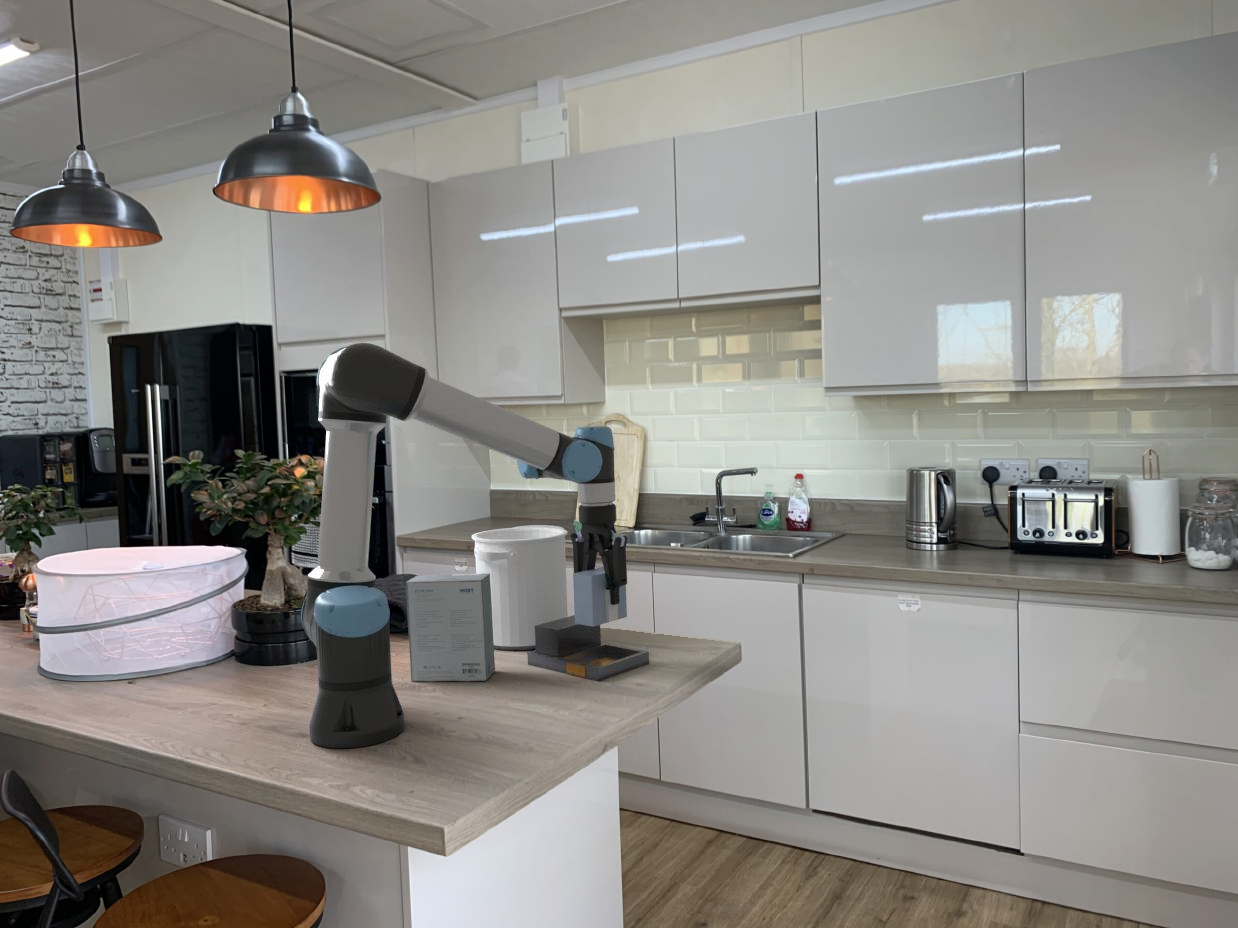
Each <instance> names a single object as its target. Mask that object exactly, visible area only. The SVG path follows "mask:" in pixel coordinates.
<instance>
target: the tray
mask: <svg viewBox="0 0 1238 928" xmlns="http://www.w3.org/2000/svg"><path fill="white" fill-rule="evenodd" d="M601 639H602V637H601V625H597V626H594V627H592V626H587V625H581V624H576V623H575V614H573V615H570V616H568V617H566V618H562V619H558V620H555V621H551V622H547V623H543V624H540V625H536V626H535V647H536V649H533V650H532V651H527V665H528V666H533V667H537V668H541V669H544V670H545V669H546V670H549V671H554V672H558V673H562V674H567V675H570V676H575V677H579V678H584V679H588V680H591V681H597V682H601V681H605V680H606V679H607V680H608V679H609V678H613V677H615V676H619V675H620V674H624V673H627V672H629V671H632V670H635V669H638V668H640V667H643V666H647V665H649V664H650V653H649V651H648V650H643V649H638V648H633V647H627V646H623V645H617V644H612V643H608V642H602V641H601Z"/></svg>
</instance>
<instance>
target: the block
mask: <svg viewBox="0 0 1238 928" xmlns="http://www.w3.org/2000/svg"><path fill="white" fill-rule="evenodd" d="M572 580H573V581H572V582H573V585H572V586H573V605H574V615H575V623H576V624H581V625H587V626H592V627H594V626H597V625H600V626H601V625H604V624H607V623H610V622H611V623H612V621H610V622H607V621H606V601H605V589H606V587H608V584H607V580H606V575H605V571H604V567H603V566H602V567H595V569H592V570H587V571H583V572H578V573H574V572H573V573H572ZM613 582H614V581H613ZM619 599H620V602H619V604H618V619H617V620H620V619H625V618H627V617H628V607H627V604H628V603H627V584H626V585H623V586H621V587H620V588H619ZM617 620H614V621H617ZM614 621H613V622H614Z"/></svg>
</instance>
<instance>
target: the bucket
mask: <svg viewBox="0 0 1238 928" xmlns="http://www.w3.org/2000/svg"><path fill="white" fill-rule="evenodd" d="M568 533H569V532H568V530H566V529H563V528H558V527H544V526H526V527H525V526H524V527H523V526H521V527H509V528H508V527H506V528H497V529H496V528H495V529H491V530H490V529H489V530H484V531H480V532H476V533H473V534H472V535H471V539H472V540H473V541H474V549H473V552H474V553H473V554H474V557H475V558H474V559H475V574H488V573H489V574H490V584H491V602H492V621H493V642H494V650H501V651H502V650H503V651H529V650H536V647H535V626H536V625H540V624H543V623H547V622H551V621H555V620H558V619H562V618H566V617H569V616H568V594H567V593H568V591H567V588H568V587H567V565H566V564H567V561H566V560H567V559H566V536H568Z"/></svg>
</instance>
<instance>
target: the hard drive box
mask: <svg viewBox="0 0 1238 928" xmlns="http://www.w3.org/2000/svg"><path fill="white" fill-rule="evenodd" d="M405 592H406V593H405V595H406V611H407V613H406V614H407V628H408V631H407V632H408V644H409V645H408V646H409V647H408V648H409V659H410V660H409V663H410V665H409V666H410V681H411V682H454V681H455V682H475V681H476V682H479V681H482V682H484V681H487V680H488V679H490V677H491V676H492V675H493V674H494V672H495V671H496V662H495V649H494V642H493V621H492V602H491V584H490V574H489V573H488V574H476V573H453V574H449V573H448V574H429V575H415V576H413V578H410V579H409V580H407V581H405Z"/></svg>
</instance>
